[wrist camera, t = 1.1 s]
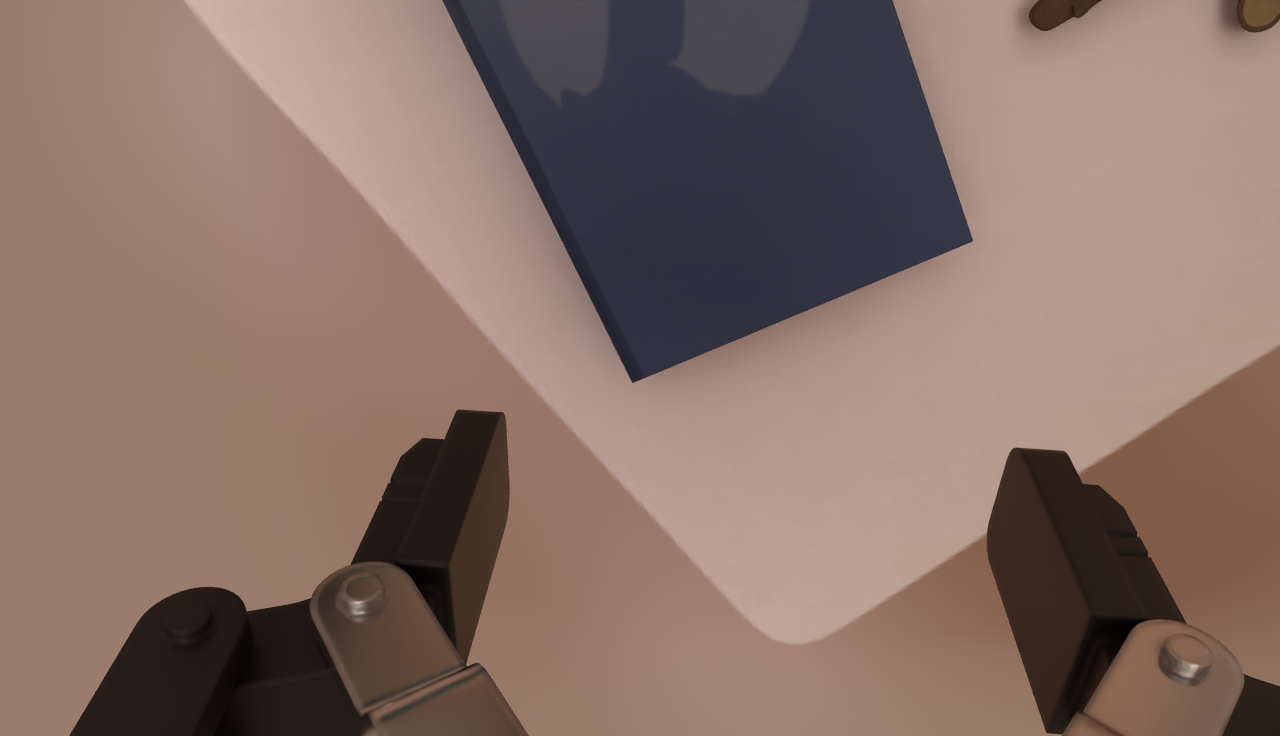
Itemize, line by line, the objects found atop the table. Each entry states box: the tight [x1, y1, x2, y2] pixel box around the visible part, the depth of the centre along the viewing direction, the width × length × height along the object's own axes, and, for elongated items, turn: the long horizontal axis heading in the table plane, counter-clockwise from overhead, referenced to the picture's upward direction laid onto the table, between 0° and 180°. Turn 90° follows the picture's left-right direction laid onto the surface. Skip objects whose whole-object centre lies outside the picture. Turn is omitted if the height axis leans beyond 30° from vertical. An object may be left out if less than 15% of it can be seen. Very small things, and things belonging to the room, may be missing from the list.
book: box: [443, 0, 973, 383], centre depth 37 cm, size 21×14×3 cm
